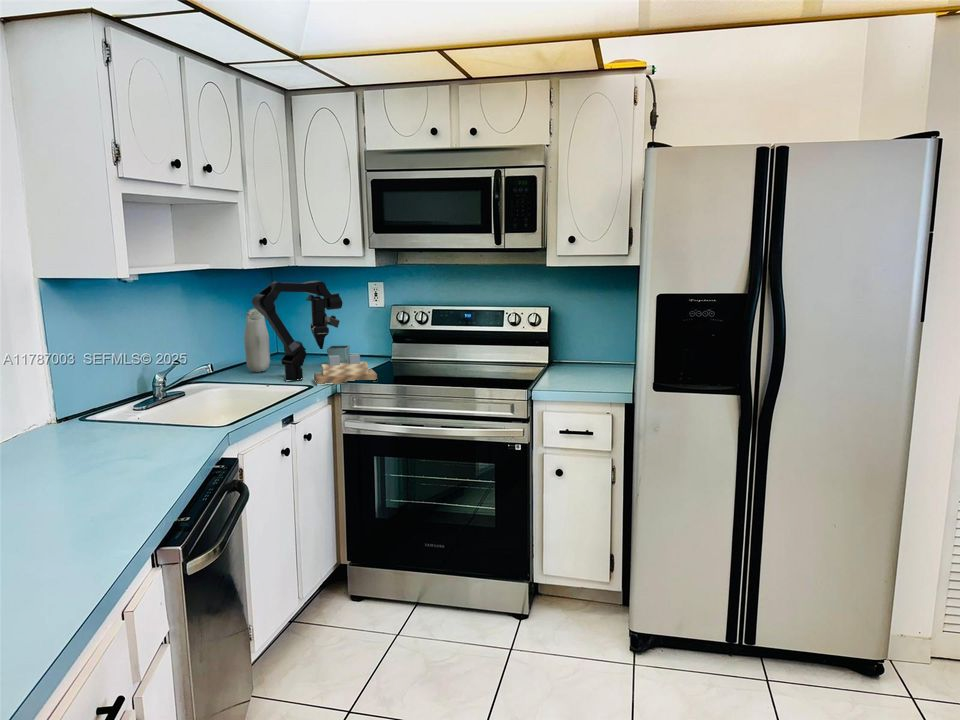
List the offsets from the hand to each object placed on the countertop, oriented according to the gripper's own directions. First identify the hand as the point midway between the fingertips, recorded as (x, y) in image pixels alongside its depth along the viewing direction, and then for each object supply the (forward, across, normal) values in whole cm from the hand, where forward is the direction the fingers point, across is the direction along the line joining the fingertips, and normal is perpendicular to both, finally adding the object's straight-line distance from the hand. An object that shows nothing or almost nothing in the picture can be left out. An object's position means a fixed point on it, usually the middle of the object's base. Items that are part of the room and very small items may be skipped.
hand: (320, 347), depth 294 cm
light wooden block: (+9, -16, -8) cm, 20 cm away
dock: (+12, -16, -8) cm, 21 cm away
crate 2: (+5, -15, -12) cm, 20 cm away
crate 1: (+5, -16, -4) cm, 17 cm away
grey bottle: (+12, +18, +26) cm, 33 cm away
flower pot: (+12, +18, -10) cm, 24 cm away
